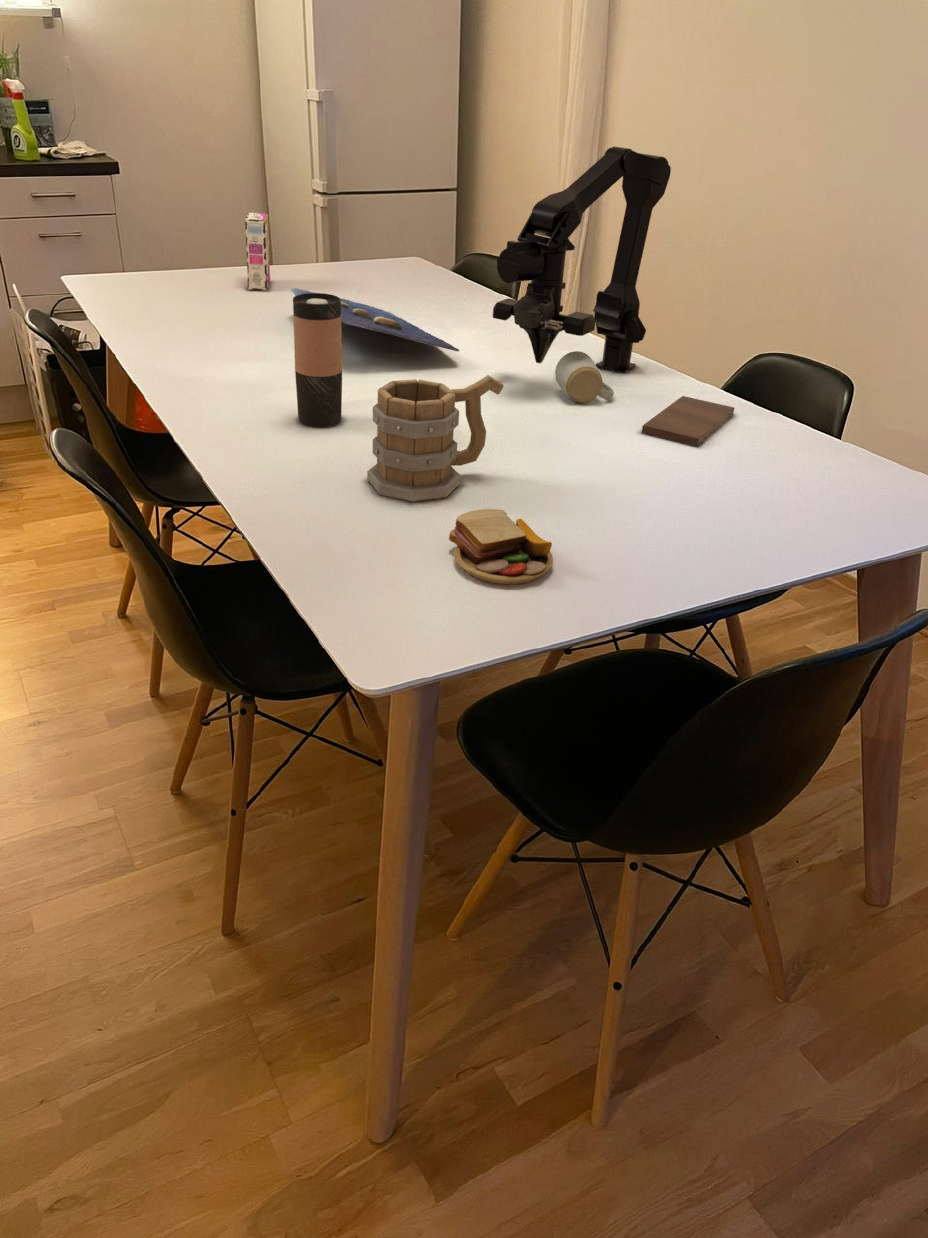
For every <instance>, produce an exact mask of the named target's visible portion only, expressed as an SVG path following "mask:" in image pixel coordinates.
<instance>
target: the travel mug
mask: <svg viewBox="0 0 928 1238" xmlns="http://www.w3.org/2000/svg"><path fill="white" fill-rule="evenodd" d="M340 298H341V297H339V296H338V295H335V294H329V293H322V292H314V293H306V294H300V295H296V296H295V295H294V296H293V297H292V311H293V312H292V313H293V344H294V345H293V346H294V349H293V350H294V374H295V375H294V377H295V389H296V390H295V391H296V403H297V416H298V417H297V418H298V422H299V423H300V424H301V425H304V426H306V427H309V428H319V429H320V428H331V427H335V426H337V425H339V424H340V423H341V422H342V402H343V401H342V400H343V399H342V398H343V343H342V341H343V340H342V339H343V337H342V336H343V335H342V321H341V300H340Z"/></svg>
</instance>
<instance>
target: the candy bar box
mask: <svg viewBox="0 0 928 1238" xmlns="http://www.w3.org/2000/svg"><path fill="white" fill-rule="evenodd" d="M244 227H245V228H244V229H245V243H246V244H245V247H246V248H245V249H246V266H247V267H246V268H247V269H246V271H247V290H248V291H257V292H259V291H262V292H267V291H268V289H269V286H270V282H271V269H270V268H271V265H270V242H269V241H270V239H269V235H270V234H269V214H268V213H263V212H248V214H247V215H246V216H245V219H244Z"/></svg>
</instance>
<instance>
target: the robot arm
mask: <svg viewBox="0 0 928 1238" xmlns="http://www.w3.org/2000/svg"><path fill="white" fill-rule="evenodd" d="M671 168H672V167H671V165H670V164H669V161H668V159H667V158H666V157H664V156H661V155H654V154H648V153H640V152H637V151H634V150H632V149H631V148H628V147H621V146H612V147H609V148H607V149H606V151H605V152H604V154H603V156H601V157H600V158H599V159H598V160H597V161H595V163H594V164H593V165H592V166H590V167H589V168H588V169H587V170H586V171H585V172H584V173H582V174H581V175H580V176H579V177H578V178H577V179H576V180H574V181H573V182H572V183H571V184H570V185H569V186H568V187H566V188H565V189H563V190H561V191H558V192H554V193H551V194H548V195H547V196H546V197H544V198H542V199H541V200H539V201H537V202H536V203H535V205H534V206H532V209H531V213H530V214H529V217H528V218H527V221H525V224H524V226H523V227H522V229H521V231H520V233H519V235H518V236H517V240H516V241H515V240H507V242H506V248H504V249H503V250H502V251H501V252H500V254H499V255H498V258H497V260H496V269H497V274H498V276H499V278H500V280H502V281H503V282H504V283H505V284H514V283H521V282H528V281H530V282H528V283H527V286H526V290H525V293H524V295H523V296H521V297H520V299H515V298H509V297H507V298H504V299H502V300H500V301H497V302H495V304H494V305H493V307H492V318H493V319H496V320H501V321H505V322H506V321H509V319H510V318H511V317H512V316H513V318H514V319H513V320H514V324H515V325H517V326H519V328H520V329H523V330H524V332H526V334H527V336H528V339H529V341H530V344H531V348H532V353H533V356H534V360H535V363H536V364H542V363H543V362H544V360H545V358H546V357H547V353H548V352H549V350H550V348H551V346H552V345H553V342H554V341H555V339H556V337H558V335H559V334H560V333H561V332H563V331H564V333H565V334H568V335H573V336H578V337H583V336H585V335H588V334H590V333H592V332H593V331H595V329H596V334H597V335H602V336H605V337H604V343H603V344H604V345H603V351H602V352H603V353H602V358H601V359H602V360H601V361H599V362H597V363H596V364H595V365H596V367H597V368H598V369H603V370H607V371H612V372H617V373H621V374H625V373H627V372H629V371H630V370H632V369H634V368H635V367H636V365H637V364H636V363H634V362H631V359H632V354H633V346H634V344H639V343H640V342H641V341H644V338H645V335H646V332H647V328H646V327H645V326H644V323H643V322H642V320H641V318H640V316H639V314H640V305H641V302H640V299H639V296H638V295H639V294H638V291H637V289H636V287H637V282H638V278H639V273H640V267H641V264H642V258H643V254H644V250H645V245H646V240H647V236H648V232H649V227H650V222H651V218H652V214H653V209H654V208H655V207H656V205H657V204H658V203H659V201H660V200H661V199H662V197H664V195H665V194H666V190H667V186H668V184H669V181H670V178H671V173H672V169H671ZM620 179H622V182H621V189H622V193H623V197H624V201H625V203H626V204H625V210H624V214H623V221H622V224H621V230H620V235H619V238H618V239H619V240H618V244H617V249H616V254H615V259H614V263H613V268H612V272H611V278H610V282H609V284H608V285H607V286H606V288H605V289H604V290H598V292H597V293H596V297H595V298H596V300H595V305H594V307H593V310H592V312H593V313H594V314H591V313H586V312H582V311H581V312H580V311H574V312H572V313H570V314H561V313H562V312H563V310H564V305H563V304H561V302H562V293H563V292H562V291H563V290H565V289H566V284H567V283H566V282H565V281H564V273H565V264H566V255H567V252H568V251H574V250H575V249H576V247H575V245H574V244H573V242H571V241H570V237H571V236H572V234H573V233H574V232H575V231H576V230H577V228H578V227H579V226H580V225H581V223H582V219H583V215H584V213H585V212H586V211H587V209H589V207H591V206H592V205H593V204H594V203H595V202H596V201H597V200H598V199H600V198H601V196H603V195H604V194H605V193H606V192H607V191H608V190H609V189H610V188H611V187H613V186H614V184H616V183H617V182H618V181H619V180H620Z"/></svg>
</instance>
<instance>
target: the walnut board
mask: <svg viewBox="0 0 928 1238" xmlns="http://www.w3.org/2000/svg"><path fill="white" fill-rule="evenodd" d="M734 413H735V407H734V406H730V405H726V404H720V403H716V402H712V401H707V400H702V399H698V398H694V397H689V396H685V395H682V396H681V397H679V398H678V399H677V400H675V401H674V402H672V403H671V404H669V405H667V407H666V408H664V409H663V410H662V411H660V412H659V413H657V414H656V415H655V416H653V417H651V419H649V420H648V421H647V422H645V423H643V425H642V426H641V427H642V428H641V434H643V435H646V436H651V437H655V438H660V439H663V440H668V441H671V442H676V443H679V444H684V445H688V446H692V447H696V448H698V447H699V446H700V445H701V444H702V443H703V442H704V441H706V440H707V439H708V438H709V437H710V436H711V435H712V434H713V433H715V432H716V431H717V430H718V429H719V428H721V427H722V426H723V425H724V424H725V423H726V422H727V421H728V420H730V419H731V418H732V417H733V416H734Z"/></svg>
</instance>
